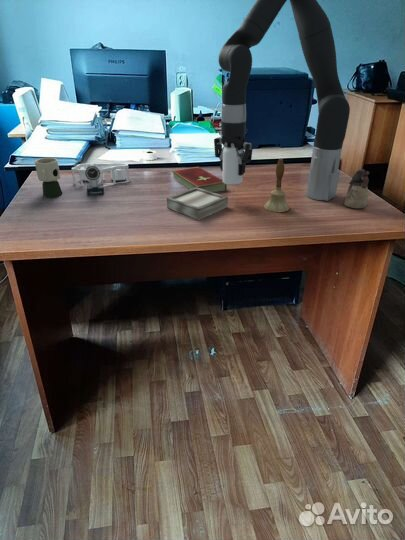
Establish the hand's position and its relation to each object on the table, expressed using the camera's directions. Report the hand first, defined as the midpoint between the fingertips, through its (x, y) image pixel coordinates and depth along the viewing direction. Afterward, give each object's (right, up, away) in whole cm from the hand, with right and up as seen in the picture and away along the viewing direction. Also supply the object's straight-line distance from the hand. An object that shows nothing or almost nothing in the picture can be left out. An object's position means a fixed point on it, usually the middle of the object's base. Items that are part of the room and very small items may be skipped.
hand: (232, 172), depth 130 cm
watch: (-47, -5, +10) cm, 49 cm away
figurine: (+41, -10, +4) cm, 43 cm away
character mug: (-61, -7, +8) cm, 62 cm away
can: (0, -3, +2) cm, 3 cm away
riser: (-11, -11, 0) cm, 16 cm away
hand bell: (+15, -11, +1) cm, 19 cm away
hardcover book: (-11, 0, +20) cm, 23 cm away
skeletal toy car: (-47, 0, +20) cm, 52 cm away
